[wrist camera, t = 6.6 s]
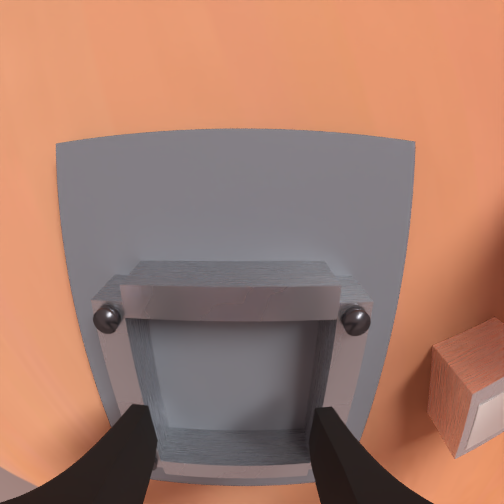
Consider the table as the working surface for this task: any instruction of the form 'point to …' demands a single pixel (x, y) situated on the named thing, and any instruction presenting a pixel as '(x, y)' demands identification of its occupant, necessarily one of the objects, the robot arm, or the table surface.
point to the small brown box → (468, 387)
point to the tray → (236, 286)
